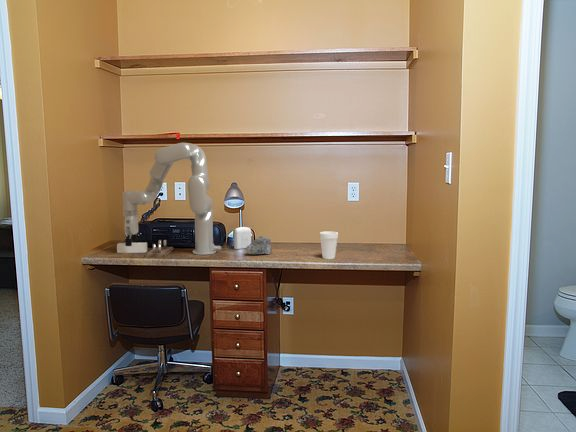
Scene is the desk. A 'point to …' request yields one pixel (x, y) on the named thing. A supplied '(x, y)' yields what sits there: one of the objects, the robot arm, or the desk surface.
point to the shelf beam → (132, 248)
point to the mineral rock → (260, 246)
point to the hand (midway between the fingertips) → (131, 244)
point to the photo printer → (242, 237)
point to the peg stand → (159, 250)
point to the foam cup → (328, 244)
